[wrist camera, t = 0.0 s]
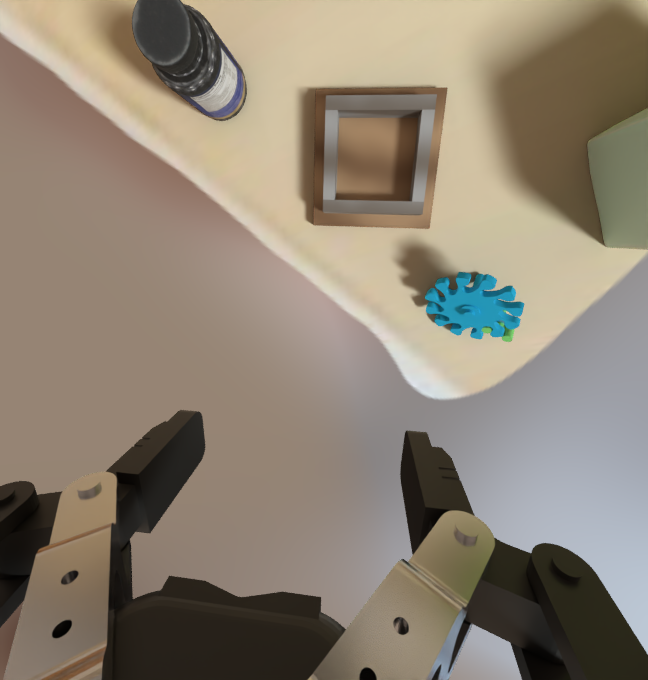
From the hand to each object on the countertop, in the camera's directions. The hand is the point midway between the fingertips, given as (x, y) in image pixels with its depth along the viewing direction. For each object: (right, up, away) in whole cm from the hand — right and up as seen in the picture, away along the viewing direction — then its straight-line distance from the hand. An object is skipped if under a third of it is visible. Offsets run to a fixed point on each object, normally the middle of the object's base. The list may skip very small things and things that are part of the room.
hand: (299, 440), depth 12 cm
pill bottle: (-10, +31, +22) cm, 39 cm away
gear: (+18, +8, +27) cm, 33 cm away
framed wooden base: (+6, +23, +23) cm, 33 cm away
